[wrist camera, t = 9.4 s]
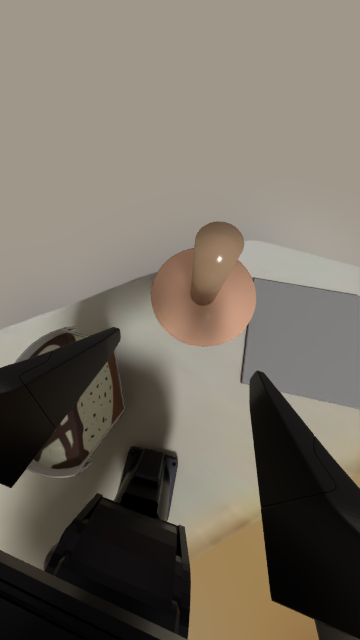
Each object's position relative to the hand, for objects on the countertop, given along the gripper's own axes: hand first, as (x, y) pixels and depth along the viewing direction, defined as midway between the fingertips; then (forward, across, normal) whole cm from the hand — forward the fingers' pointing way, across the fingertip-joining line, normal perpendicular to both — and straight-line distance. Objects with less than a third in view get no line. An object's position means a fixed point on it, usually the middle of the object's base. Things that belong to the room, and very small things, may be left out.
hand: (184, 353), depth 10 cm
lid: (+12, 0, +1) cm, 12 cm away
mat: (+14, -16, +4) cm, 22 cm away
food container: (+4, +11, +15) cm, 19 cm away
